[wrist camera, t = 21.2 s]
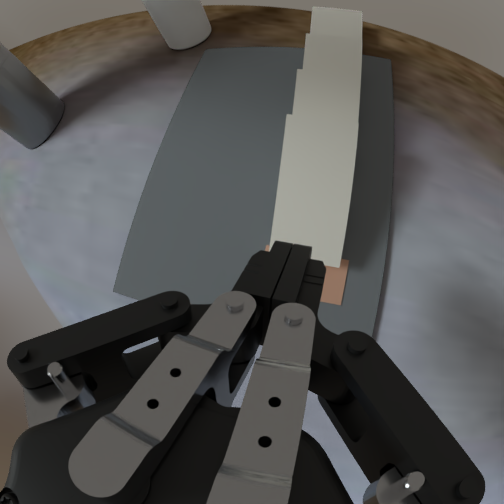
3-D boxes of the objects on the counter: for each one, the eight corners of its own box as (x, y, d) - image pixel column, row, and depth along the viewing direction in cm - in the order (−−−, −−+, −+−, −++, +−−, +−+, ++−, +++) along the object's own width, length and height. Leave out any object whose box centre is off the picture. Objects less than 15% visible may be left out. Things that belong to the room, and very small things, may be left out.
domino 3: (282, 190, 22) (297, 68, 21) (287, 191, 24) (300, 78, 22) (349, 200, 21) (360, 75, 19) (348, 201, 23) (359, 84, 21)
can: (159, 49, 34) (122, -12, 23) (188, 23, 35) (159, -36, 23) (191, 54, 32) (155, -16, 21) (221, 27, 33) (194, -41, 21)
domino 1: (304, 88, 24) (312, 6, 22) (306, 95, 26) (314, 16, 24) (359, 95, 23) (362, 11, 21) (358, 102, 25) (361, 21, 23)
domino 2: (295, 134, 24) (306, 33, 21) (298, 138, 25) (308, 43, 23) (356, 142, 22) (362, 39, 20) (354, 146, 24) (361, 48, 22)
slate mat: (116, 292, 26) (112, 291, 26) (207, 51, 32) (205, 48, 31) (366, 355, 21) (367, 356, 20) (390, 62, 26) (391, 59, 26)
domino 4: (268, 255, 21) (286, 114, 20) (274, 251, 23) (291, 121, 21) (339, 267, 20) (358, 122, 18) (339, 262, 22) (357, 129, 20)
